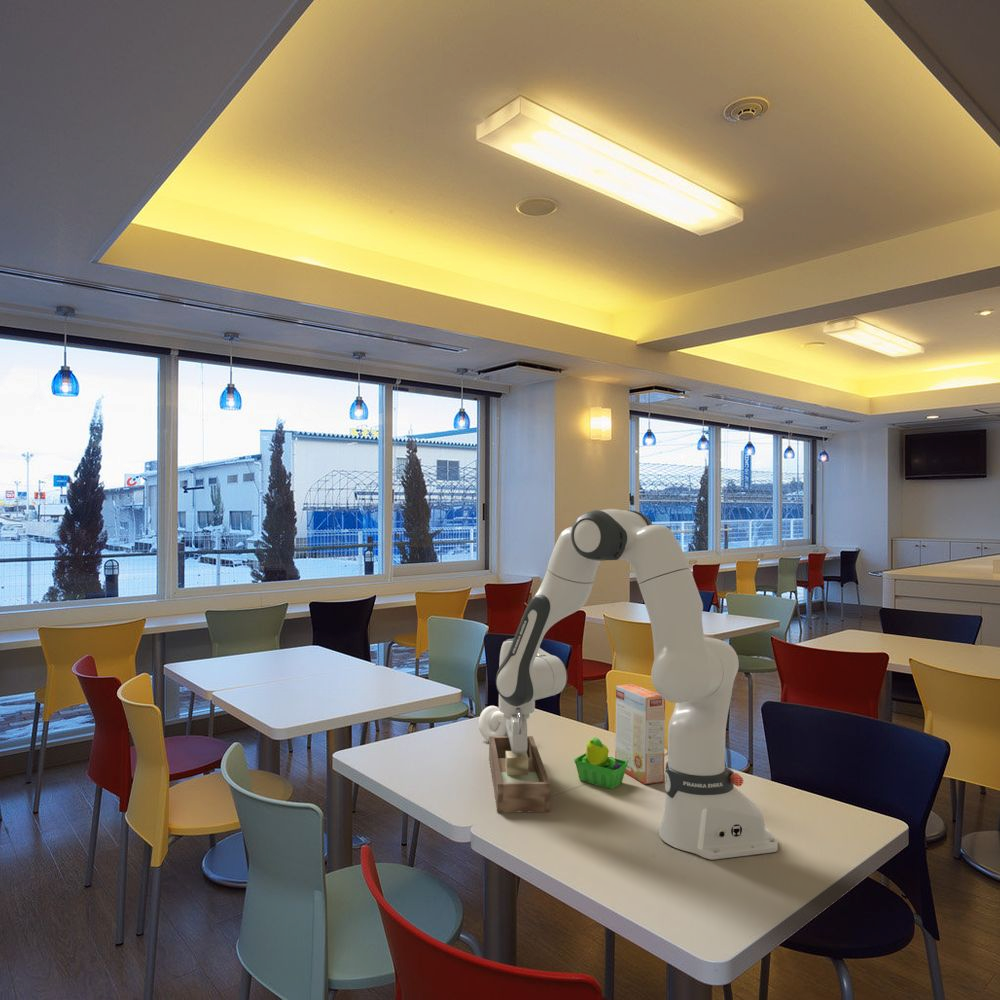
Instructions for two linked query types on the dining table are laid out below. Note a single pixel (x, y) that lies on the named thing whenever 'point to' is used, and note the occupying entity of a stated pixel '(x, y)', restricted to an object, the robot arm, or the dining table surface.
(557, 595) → the robot arm
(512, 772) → the maple block
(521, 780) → the trap lane
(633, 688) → the cracker box
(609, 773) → the fruit basket
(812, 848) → the dining table surface
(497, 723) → the white rounded piece
